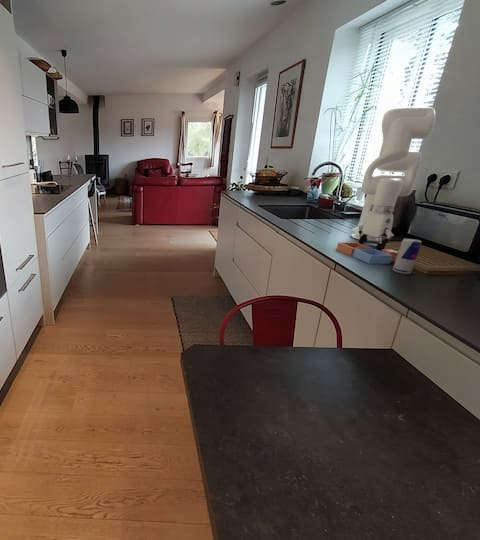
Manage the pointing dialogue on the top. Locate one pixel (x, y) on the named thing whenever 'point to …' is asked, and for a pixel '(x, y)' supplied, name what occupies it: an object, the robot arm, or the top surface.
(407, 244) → the energy drink
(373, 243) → the blue block
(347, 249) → the terracotta bin
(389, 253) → the terracotta block
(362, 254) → the blue bin
